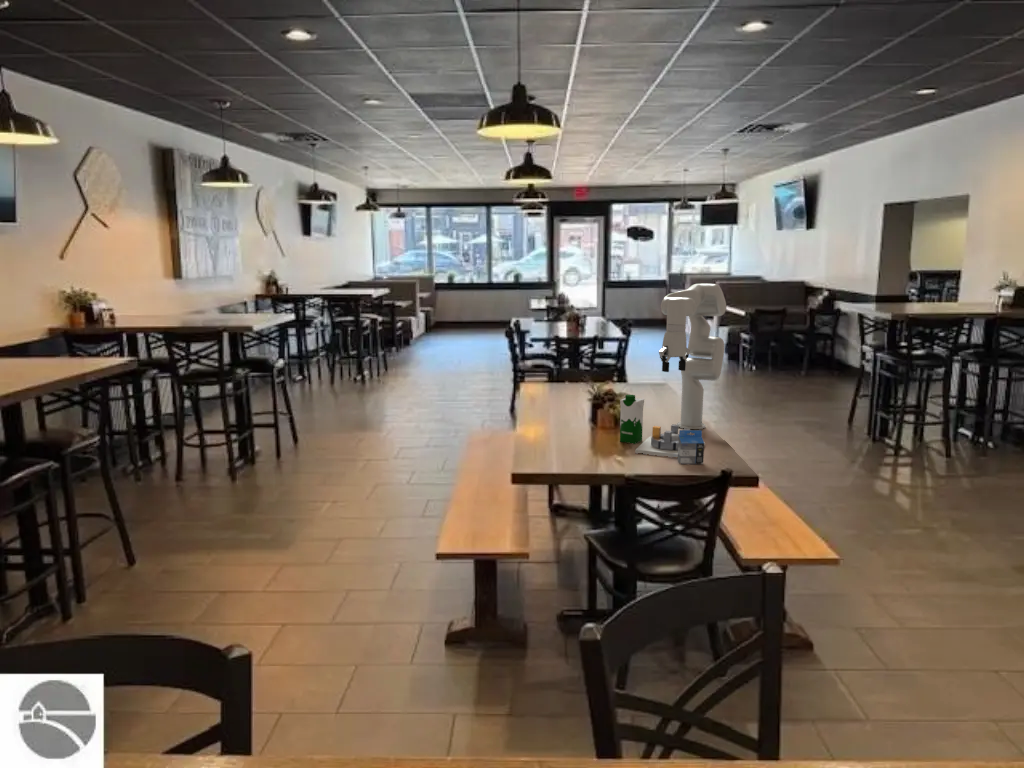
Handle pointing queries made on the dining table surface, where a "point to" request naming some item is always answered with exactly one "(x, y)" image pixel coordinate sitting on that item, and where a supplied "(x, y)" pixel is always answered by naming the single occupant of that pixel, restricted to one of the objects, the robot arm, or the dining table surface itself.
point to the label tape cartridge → (690, 447)
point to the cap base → (651, 450)
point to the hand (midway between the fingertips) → (673, 371)
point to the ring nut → (665, 438)
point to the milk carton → (631, 419)
